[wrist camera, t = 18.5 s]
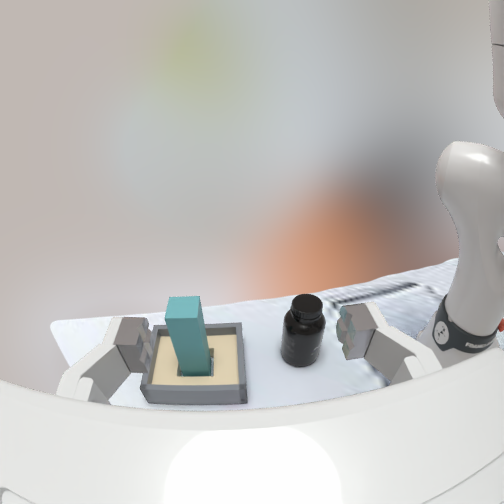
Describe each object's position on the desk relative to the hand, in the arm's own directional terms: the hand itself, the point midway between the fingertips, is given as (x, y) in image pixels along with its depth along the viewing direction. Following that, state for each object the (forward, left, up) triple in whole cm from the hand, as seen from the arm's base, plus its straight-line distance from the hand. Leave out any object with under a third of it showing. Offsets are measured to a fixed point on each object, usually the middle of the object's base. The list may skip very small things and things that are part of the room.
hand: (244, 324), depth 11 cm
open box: (+8, -21, -32) cm, 39 cm away
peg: (+8, -21, -32) cm, 39 cm away
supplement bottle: (-10, -23, -32) cm, 41 cm away
